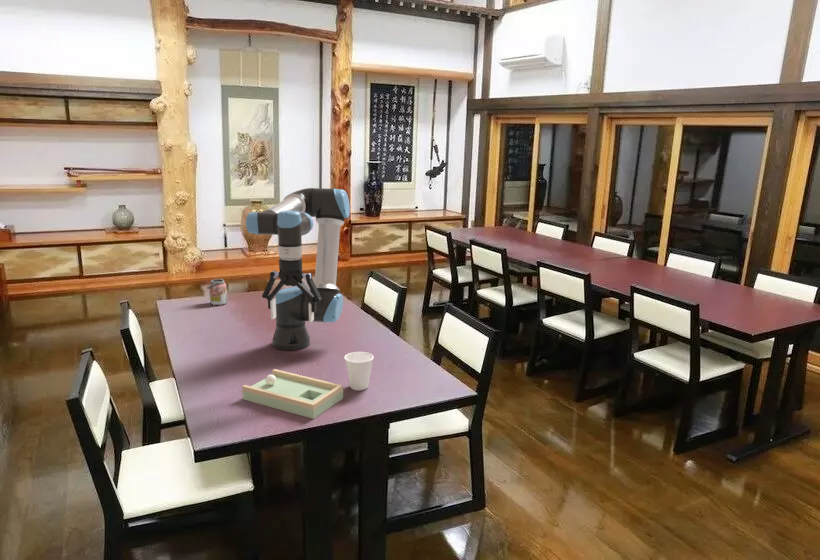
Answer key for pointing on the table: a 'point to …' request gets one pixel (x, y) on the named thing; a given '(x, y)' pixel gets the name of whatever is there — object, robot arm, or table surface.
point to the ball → (270, 379)
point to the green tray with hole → (295, 394)
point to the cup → (359, 369)
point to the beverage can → (218, 292)
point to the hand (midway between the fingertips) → (292, 319)
